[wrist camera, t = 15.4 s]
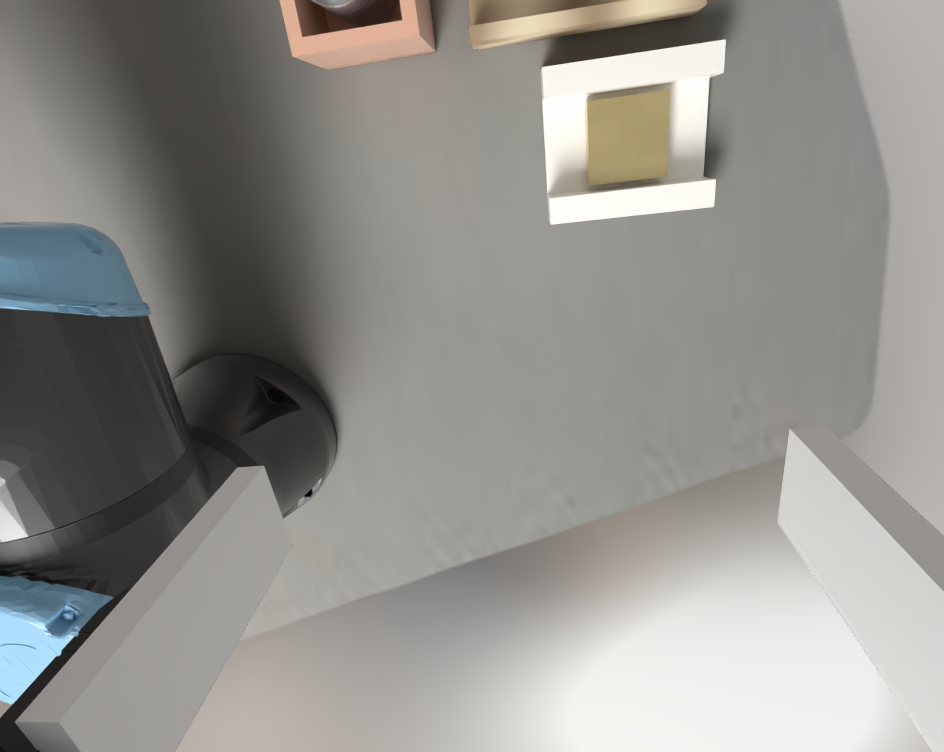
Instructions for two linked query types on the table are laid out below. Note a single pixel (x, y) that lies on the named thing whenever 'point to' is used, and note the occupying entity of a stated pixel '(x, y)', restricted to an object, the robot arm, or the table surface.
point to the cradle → (622, 77)
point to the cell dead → (361, 10)
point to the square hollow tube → (356, 34)
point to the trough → (564, 17)
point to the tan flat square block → (627, 137)
